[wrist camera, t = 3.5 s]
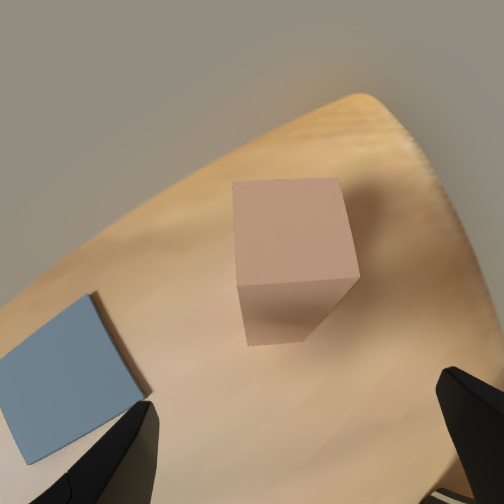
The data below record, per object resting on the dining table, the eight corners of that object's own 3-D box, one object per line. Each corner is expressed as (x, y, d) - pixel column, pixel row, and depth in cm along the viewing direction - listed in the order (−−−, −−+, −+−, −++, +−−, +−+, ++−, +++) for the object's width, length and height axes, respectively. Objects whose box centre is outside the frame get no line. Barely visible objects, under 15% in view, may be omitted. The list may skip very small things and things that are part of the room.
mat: (90, 295, 22) (87, 293, 21) (147, 397, 19) (144, 398, 18) (-9, 371, 18) (-13, 370, 18) (31, 464, 15) (27, 465, 15)
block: (302, 341, 20) (360, 276, 9) (247, 345, 20) (236, 285, 9) (296, 290, 22) (338, 177, 10) (244, 294, 22) (232, 181, 10)
